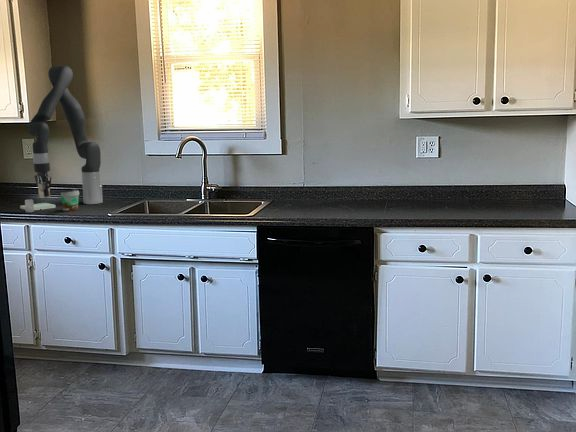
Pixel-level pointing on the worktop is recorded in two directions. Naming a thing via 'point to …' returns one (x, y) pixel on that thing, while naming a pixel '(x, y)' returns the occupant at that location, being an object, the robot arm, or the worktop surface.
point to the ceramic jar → (29, 205)
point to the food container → (70, 200)
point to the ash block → (42, 191)
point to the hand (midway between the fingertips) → (44, 195)
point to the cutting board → (40, 206)
